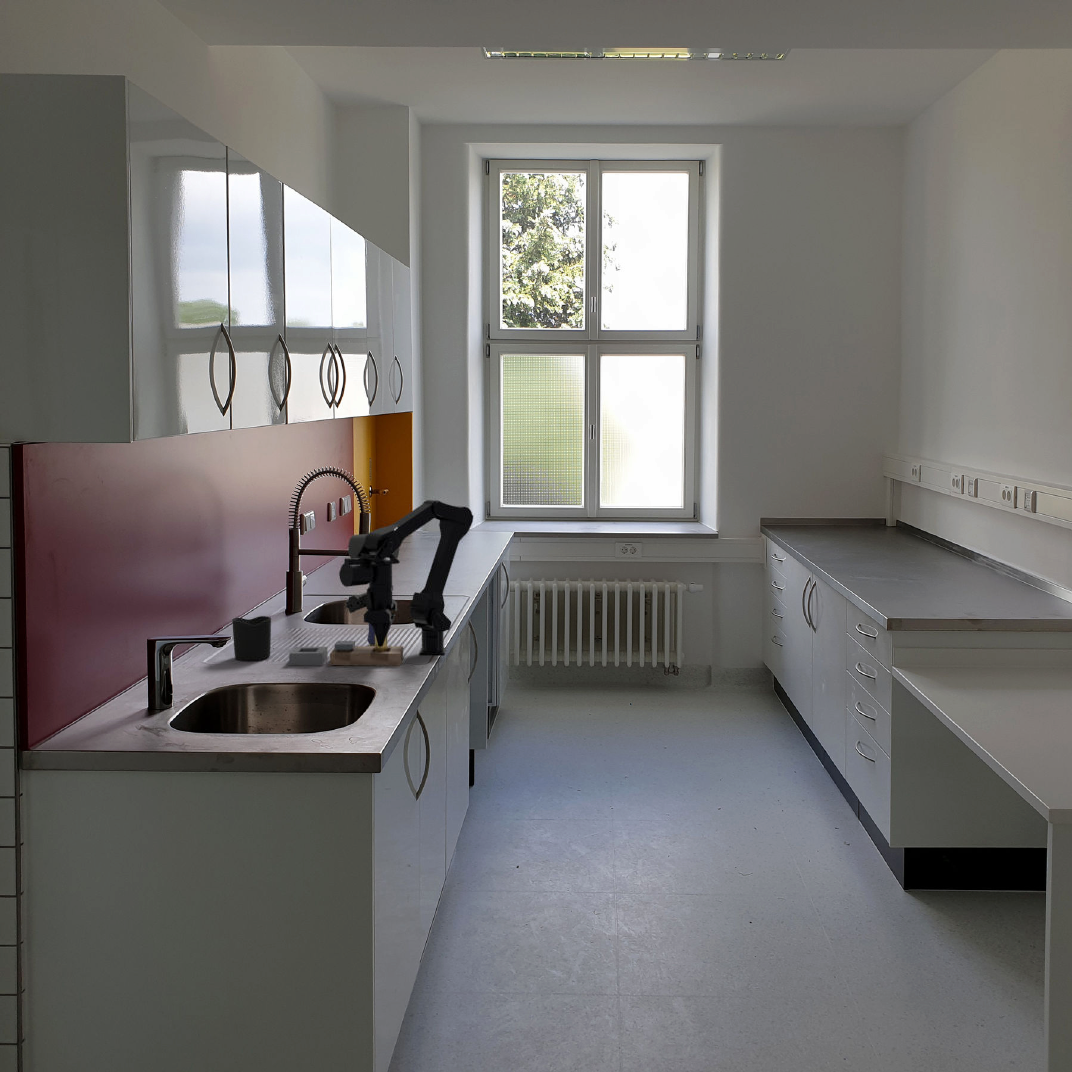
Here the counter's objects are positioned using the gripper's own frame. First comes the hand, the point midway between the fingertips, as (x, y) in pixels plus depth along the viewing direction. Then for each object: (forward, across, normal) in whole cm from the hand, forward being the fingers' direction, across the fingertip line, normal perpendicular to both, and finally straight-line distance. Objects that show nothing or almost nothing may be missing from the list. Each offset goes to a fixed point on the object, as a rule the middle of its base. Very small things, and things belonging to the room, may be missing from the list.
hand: (381, 645), depth 264 cm
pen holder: (+4, -5, -33) cm, 34 cm away
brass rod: (+4, 0, 0) cm, 4 cm away
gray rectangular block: (+4, 0, -9) cm, 10 cm away
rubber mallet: (+4, -20, -4) cm, 21 cm away
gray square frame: (+4, 0, -18) cm, 18 cm away
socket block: (+4, 0, -4) cm, 6 cm away
